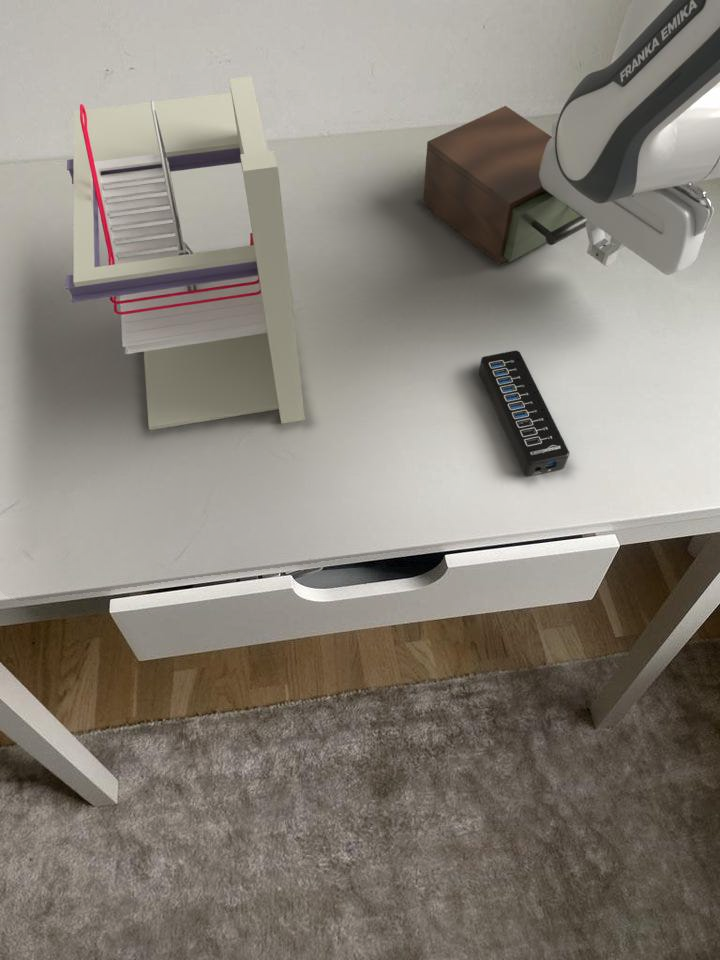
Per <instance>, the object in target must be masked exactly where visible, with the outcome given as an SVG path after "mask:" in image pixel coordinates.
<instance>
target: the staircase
mask: <svg viewBox="0 0 720 960" xmlns="http://www.w3.org/2000/svg"><path fill="white" fill-rule="evenodd" d="M228 81H229V89H230V92H223V93H215V94H207V95H199V96H190V97H181V98H173V99H165V100H155V101H154V100H153V99H152V100H150V101H149V102H139V103H138V102H137V103H131V104H122V105H114V106H105V107H96V108H89V109H86V107H85V106H84V104H83V103H80V104H79V110H73V158H72V159H66V171H68V172H69V174H70V177H71V184H72V185H73V187H72V188H73V194H72V195H73V196H72V197H73V200H72V201H73V208H72V209H73V214H72V215H73V216H72V217H73V218H72V219H73V220H72V221H73V224H72V225H73V228H72V229H73V241H72V242H73V245H72V246H73V253H72V254H73V257H72V258H73V261H72V263H73V264H72V265H73V267H72V269H73V272H72V274H69V275H68V274H67V275H65V289H66V290H69V292H70V295H71V303H79V302H85V301H93V300H98V299H107V298H109V301H110V303H112V304H113V312H114V313H115V314H116V315H119V316H120V319H121V320H120V321H121V323H120V324H121V344H122V345H121V346H122V348H124V355H130V354H137V353H142V352H143V363H144V379H145V393H146V406H147V407H146V408H147V422H148V424H147V425H148V429H149V431H153V430H159V429H166V428H172V427H178V426H184V425H190V424H197V423H203V422H208V421H209V422H210V421H215V420H220V419H227V418H233V417H239V416H246V415H250V414H251V415H252V414H258V413H264V412H270V411H277V410H278V412H279V418H280V424H281V425H284V424H288V423H295V422H301V421H306V416H305V408H304V399H303V389H302V387H303V386H302V378H301V369H300V360H299V351H298V342H297V341H298V340H297V332H296V323H295V322H296V321H295V314H294V304H293V296H292V286H291V285H292V284H291V275H290V268H289V256H288V249H287V240H286V230H285V229H286V228H285V220H284V211H283V201H282V193H281V191H282V190H281V184H280V174H279V166H278V161H277V157H276V153H275V150H274V149H273V150H269V148H268V144H267V139H266V134H265V130H264V126H263V122H262V117H261V113H260V109H259V104H258V100H257V96H256V92H255V86H254V83H253V80H252V76H251V75H250V76H242V77H232V78H229V79H228ZM235 164H240V166H241V171H242V175H243V181H244V190H245V197H246V202H247V203H246V204H247V209H248V215H249V222H250V229H251V232H249V236H250V237H249V239H250V240H249V244H250V245H245V246H238V247H231V248H230V247H229V248H221V249H216V250H209V251H201V252H195V253H194V251H193V250H192V249H191V248H190V247H189V245H188V243H186V242H185V241H184V237H183V233H182V228H181V223H180V222H181V221H180V216H179V211H178V207H177V201H176V196H175V195H176V194H175V191H174V185H173V179H172V175H171V172H179V171H187V170H195V169H196V170H197V169H203V168H210V167H211V168H213V167H218V166H226V165H235ZM158 179H164V181H157V182H150V183H141V184H135V185H134V184H133V185H125V186H120V187H119V186H118V187H110V188H104V186H111V185H120V184H128V183H134V182H141V181H151V180H158ZM161 193H167V194H166V195H159V196H152V197H151V196H150V197H142V198H136V199H128V200H120V201H114V202H107V201H108V200H113V199H123V198H130V197H137V196H145V195H152V194H153V195H154V194H161ZM162 207H169V208H167V209H159V210H152V211H145V212H136V213H129V214H122V215H114V216H110V214H116V213H125V212H132V211H140V210H148V209H156V208H162ZM99 215H100V220H101V225H102V231H103V234H104V235H103V236H104V239H105V240H104V241H105V244H106V250H107V257H108V259H107V261H108V265H101V263H100V262H101V261H100V260H101V259H100V258H101V257H100V231H99V230H100V227H99V225H100V224H99ZM171 220H172V222H167V223H160V224H159V223H158V224H152V225H144V226H138V227H131V228H123V229H116V230H113V228H118V227H127V226H134V225H142V224H148V223H156V222H162V221H163V222H164V221H171ZM171 234H174V236H173V235H172V236H167V237H160V238H152V239H145V240H138V241H129V240H134V239H141V238H150V237H156V236H164V235H171ZM126 240H127V241H129V242H123V243H116V242H119V241H120V242H121V241H126ZM171 248H177V249H173V250H164V249H171ZM155 250H157V251H158V250H163V251H158V252H151V253H143V254H136V255H130V256H129V255H128V254H134V253H142V252H150V251H155ZM120 255H128V256H123V257H119V256H120ZM117 297H119V300H117ZM117 305H120V311H119V310H118V309H117V307H118V306H117Z"/></svg>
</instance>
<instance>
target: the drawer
mask: <svg viewBox="0 0 720 960" xmlns="http://www.w3.org/2000/svg"><path fill="white" fill-rule="evenodd" d="M586 221H587V219H586V218H584V217H583V216H582V215H580V214H579V213H577V212H576V211H574V210H573V209H572V208H570V207H569V206H567V205H566V204H565V203H563V202H562V201H560V200H559V199H557V198H556V197H555V196H553V195H552V194H550V193H549V192H547V191H545V192H543V193H541V194H539V195H537V196H536V197H535V198H533V199H531V200H529V201H527V202H525V203H523V204H522V205H520V206H518V207H516V208H514V209H513V211H512V216H511V221H510V227H509V232H508V237H507V242H506V247H505V252H504V257H505V258H506V259H507V260H506V261H508V262H512V261H514V260H516V259H518V258H520V257H521V256H524V255H525V254H527V253H529V252H531V251H533V250H534V249H536V248H538V247H540V246H541V245H543V244H546V243H547V244H548V245H549V246H553V245H556V244H557V243H559V242H561V241H563V240H565V239H567V238H568V237H570V236H572V235H574V234H575V233H577V232H579V231H582V230H583V229H584V228H585V229H586Z"/></svg>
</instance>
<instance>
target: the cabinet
mask: <svg viewBox="0 0 720 960" xmlns="http://www.w3.org/2000/svg"><path fill="white" fill-rule="evenodd" d="M552 137H553V136H552V135H550V134H549V133H547V132H546V131H544V130H543V129H541V128H540V127H538V126H536V125H535V124H534V123H532V122H530V120H528V119H527V118H525V117H524V116H522V115H520V114H519V113H517V112H516V111H514V110H513V109H511V108H510V107H508V106H507V105H504V106H501V107H499V108H498V109H495V110H492V111H491V112H488V113H486V114H484V115H482V116H480V117H478V118H475V119H473V120H471V121H469V122H467V123H465V124H464V123H463V125H460V126H458V127H456V128H453V129H450V131H447V132H445V133H443V134H441V135H438V136H436V137H434V138H432V139H430V140H428V141H427V142H426V156H425V167H424V168H425V169H424V180H423V195H422V204H423V205H425V206H426V207H427V208H428V209H429V210H430V211H432V212H433V213H434V214H436V215H437V216H438V217H439V218H440V219H442V220H443V221H444V222H446V223H447V224H448V225H449V226H450V227H452V228H453V230H455V231H457V232H458V233H459V234H461V236H463V237H464V238H465V239H466V240H467V241H469V242H470V243H471V244H473V246H475V247H476V248H477V249H479V250H480V251H481V252H482V253H484V254H485V255H486V256H487V257H488V258H489V259H491V260H492V261H493V262H495V263H496V264H497V265H501V264H503V263H504V262H506V261H508V260H507V259H506V258H505V257H504V252H505V247H506V242H507V237H508V232H509V227H510V221H511V216H512V211H513V209H514V207H516V206H518V205H520V204H522V203H523V202H525V201H527V200H529V199H531V198H533V197H535V196H537V195H539V194H541V193H543V192H545V191H546V190H545V189H543V188H542V185H541V182H540V179H539V171H540V166H541V162H542V158H543V154H544V151H545V148H546V145H547V143H548V141H549V140H550V139H551V138H552Z"/></svg>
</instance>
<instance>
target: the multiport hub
mask: <svg viewBox="0 0 720 960" xmlns="http://www.w3.org/2000/svg"><path fill="white" fill-rule="evenodd" d="M478 369H479V370H478V376H479V377H480V380H481V383H482V384H483V387H484V389H485V391H486V393H487V396H488V398H489V399H490V400H489V401H490V403H491V405H492V407H493V409H494V412H495V413H496V416H497V418H498V420H499V422H500V425H501V427H502V429H503V432H504V434H505V436H506V438H507V440H508V443H509V444H510V447H511V449H512V452H513V454H514V457H515V458H516V460H517V463H518V466H519V467H520V470H521V472H522V474H523V475H524V476H525V477H532V476H537V475H538V476H539V475H542V474H546V473H551V472H555V471H560V470H564V468H565V467H566V464H567V462H568V459H569V457H570V451H569V449H568V447H567V444H566V442H565V441H564V438H563V436H562V435H561V432H560V430H559V428H558V426H557V425H556V422H555V420H554V418H553V416H552V414H551V412H550V410H549V408H548V406H547V403H546V402H545V400H544V398H543V396H542V394H541V391H540V390H539V388H538V386H537V384H536V382H535V380H534V378H533V376H532V373H531V372H530V369H529V368H528V366H527V364H526V362H525V359H524V357H523V356H522V354H521V352H520V350H510V351H505V352H500V353H495V354H491V355H486V356H485V355H484V356H482V357H481V359H480V363H479V368H478Z"/></svg>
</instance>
